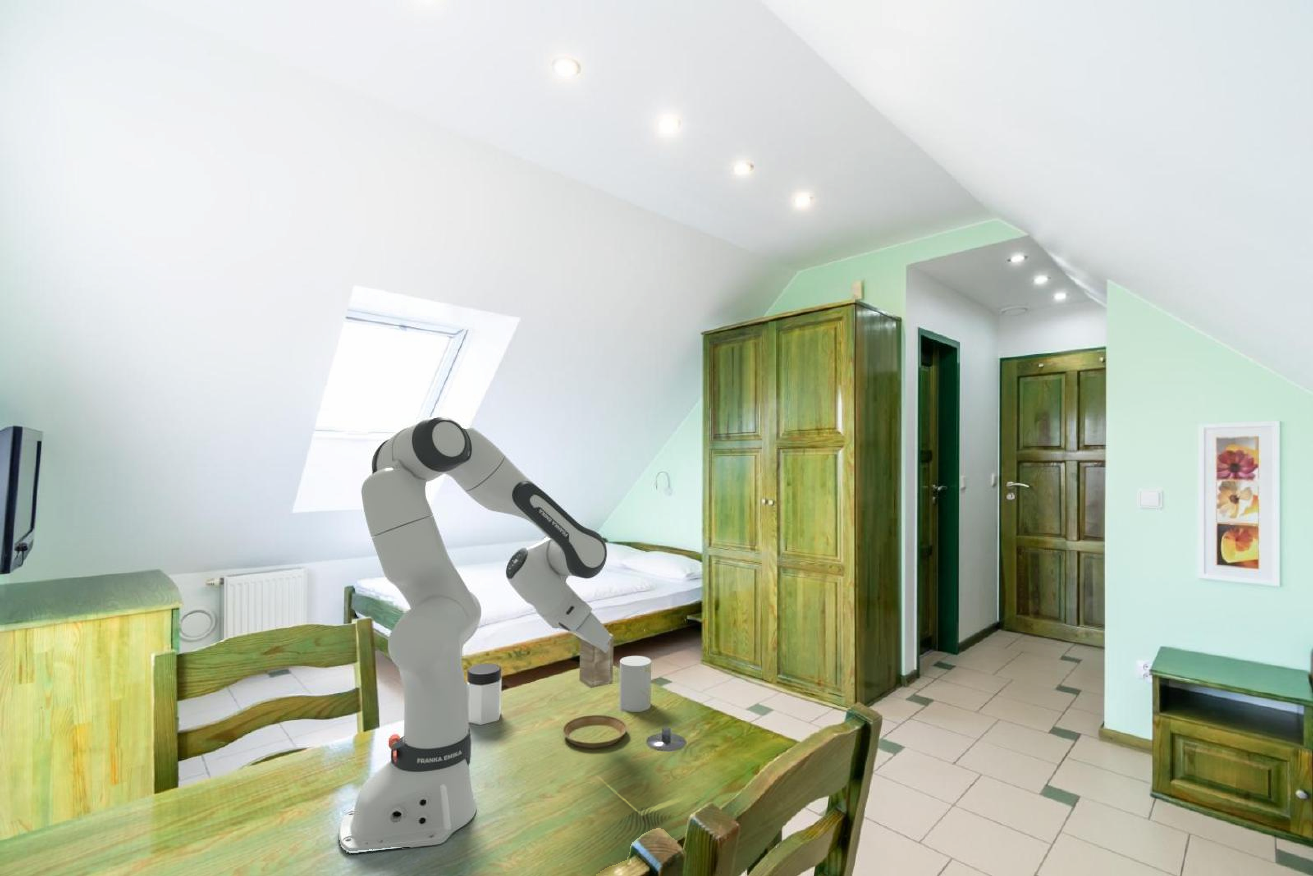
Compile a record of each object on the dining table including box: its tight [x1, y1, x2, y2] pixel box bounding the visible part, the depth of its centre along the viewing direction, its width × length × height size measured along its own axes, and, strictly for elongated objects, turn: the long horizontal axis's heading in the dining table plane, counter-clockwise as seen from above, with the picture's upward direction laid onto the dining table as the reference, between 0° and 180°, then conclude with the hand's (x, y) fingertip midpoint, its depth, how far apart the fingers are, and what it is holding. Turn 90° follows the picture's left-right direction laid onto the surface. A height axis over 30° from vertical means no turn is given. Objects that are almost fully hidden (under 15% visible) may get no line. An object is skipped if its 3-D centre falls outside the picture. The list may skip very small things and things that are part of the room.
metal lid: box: [645, 726, 687, 752], centre depth 142 cm, size 9×9×4 cm
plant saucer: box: [562, 714, 628, 749], centre depth 144 cm, size 15×15×3 cm
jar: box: [466, 663, 503, 726], centre depth 155 cm, size 9×8×12 cm
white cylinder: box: [618, 655, 652, 713], centre depth 162 cm, size 8×8×12 cm
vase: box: [578, 632, 615, 689], centre depth 145 cm, size 7×6×11 cm
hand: (599, 645), depth 145 cm, fingers closed on vase, 6 cm apart
